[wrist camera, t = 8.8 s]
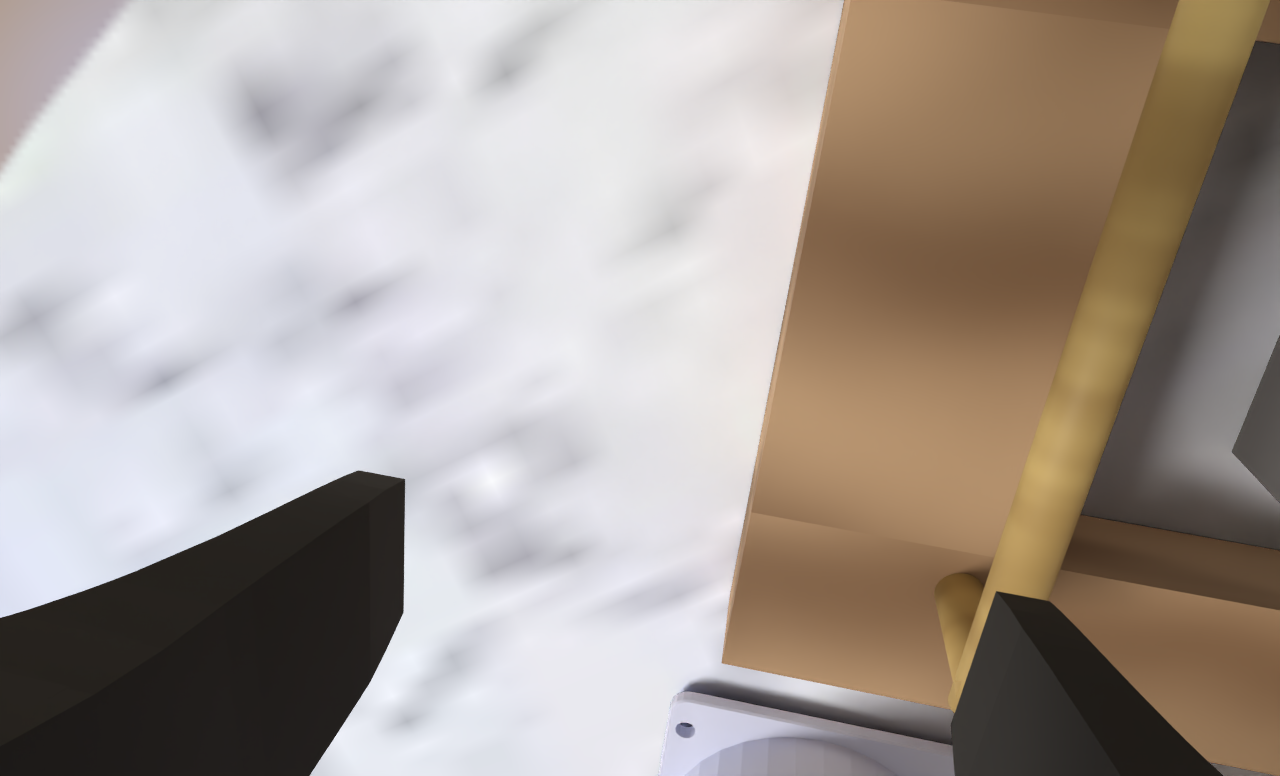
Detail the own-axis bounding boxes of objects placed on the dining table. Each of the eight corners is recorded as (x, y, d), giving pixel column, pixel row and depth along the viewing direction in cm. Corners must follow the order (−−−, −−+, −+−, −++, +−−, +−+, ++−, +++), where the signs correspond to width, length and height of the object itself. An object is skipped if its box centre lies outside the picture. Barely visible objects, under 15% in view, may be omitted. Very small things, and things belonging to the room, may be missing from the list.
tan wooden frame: (1366, 720, 21) (1549, 958, 16) (729, 596, 23) (707, 777, 18) (1804, -28, 15) (2353, -37, 10) (869, -133, 16) (901, -191, 11)
